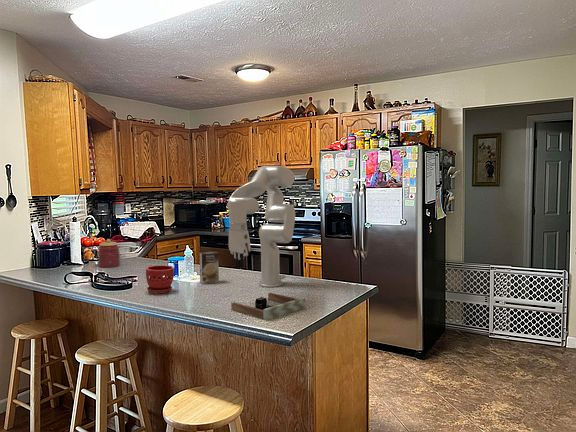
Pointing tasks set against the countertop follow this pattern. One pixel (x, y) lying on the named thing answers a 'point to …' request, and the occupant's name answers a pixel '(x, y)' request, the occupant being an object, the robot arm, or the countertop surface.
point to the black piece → (261, 303)
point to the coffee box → (209, 267)
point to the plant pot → (159, 278)
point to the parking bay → (274, 311)
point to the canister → (108, 254)
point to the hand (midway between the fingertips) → (239, 267)
